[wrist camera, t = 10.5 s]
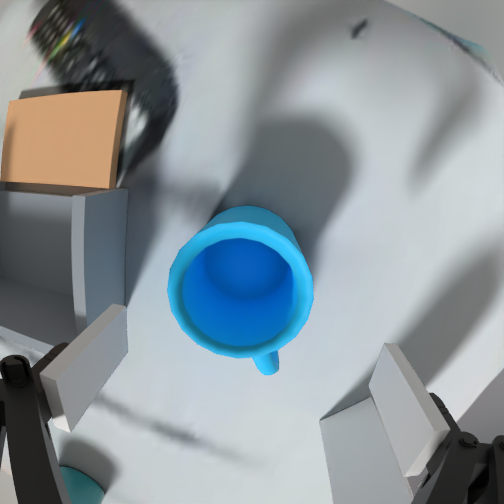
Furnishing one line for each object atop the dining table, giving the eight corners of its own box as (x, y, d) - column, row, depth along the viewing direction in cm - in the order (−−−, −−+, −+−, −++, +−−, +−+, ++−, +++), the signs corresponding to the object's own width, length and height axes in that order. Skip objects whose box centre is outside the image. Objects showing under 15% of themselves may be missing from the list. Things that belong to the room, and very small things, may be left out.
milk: (386, 426, 30) (446, 589, 8) (337, 448, 30) (371, 615, 9) (370, 394, 28) (441, 585, 7) (316, 420, 29) (348, 616, 8)
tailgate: (0, 181, 23) (9, 101, 21) (7, 180, 24) (16, 102, 22) (108, 188, 23) (121, 90, 21) (115, 187, 24) (127, 93, 22)
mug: (183, 221, 25) (147, 244, 17) (284, 193, 24) (294, 203, 16) (226, 351, 28) (214, 412, 20) (317, 331, 27) (334, 388, 19)
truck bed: (4, 280, 27) (-51, 310, 18) (0, 179, 24) (-63, 189, 16) (125, 312, 27) (77, 365, 18) (129, 188, 24) (67, 199, 16)
